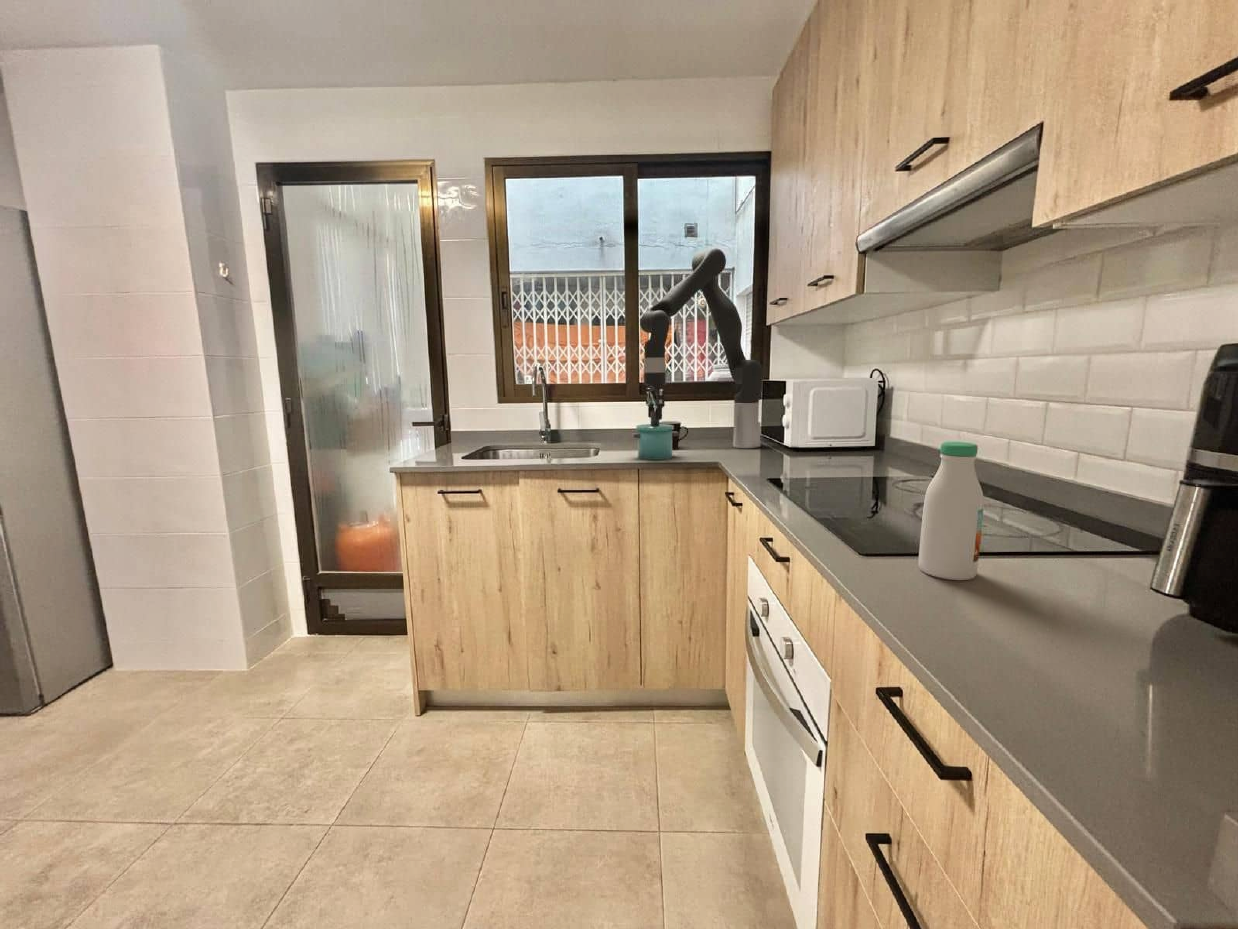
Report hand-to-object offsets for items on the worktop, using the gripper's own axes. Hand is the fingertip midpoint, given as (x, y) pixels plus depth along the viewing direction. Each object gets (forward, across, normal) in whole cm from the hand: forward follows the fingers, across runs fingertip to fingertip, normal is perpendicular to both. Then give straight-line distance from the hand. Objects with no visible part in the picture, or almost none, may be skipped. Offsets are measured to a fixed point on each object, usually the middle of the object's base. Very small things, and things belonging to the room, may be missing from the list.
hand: (654, 418), depth 186 cm
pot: (+14, 0, 0) cm, 14 cm away
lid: (+4, 0, 0) cm, 4 cm away
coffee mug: (+14, +17, -12) cm, 25 cm away
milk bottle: (+14, -114, -12) cm, 115 cm away
